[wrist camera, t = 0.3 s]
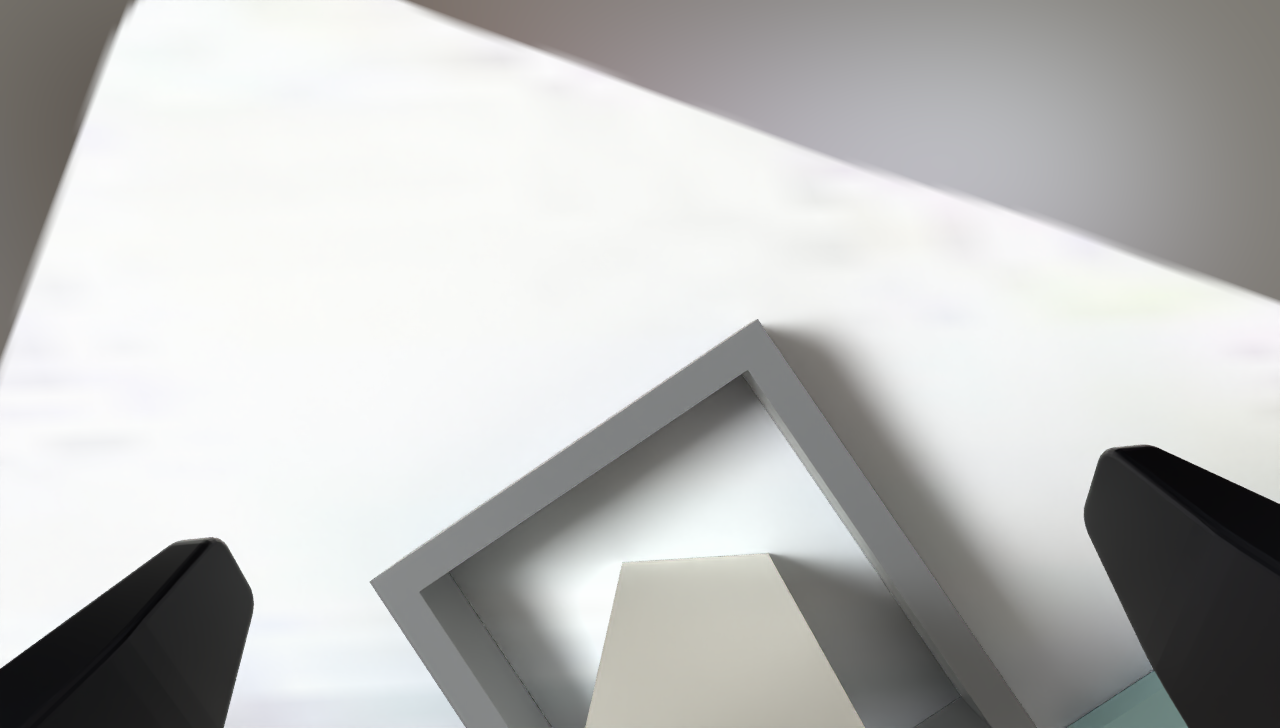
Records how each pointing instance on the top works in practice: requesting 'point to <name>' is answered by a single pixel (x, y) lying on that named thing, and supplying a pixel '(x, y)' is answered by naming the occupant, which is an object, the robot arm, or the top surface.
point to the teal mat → (1136, 708)
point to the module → (713, 651)
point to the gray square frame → (420, 582)
